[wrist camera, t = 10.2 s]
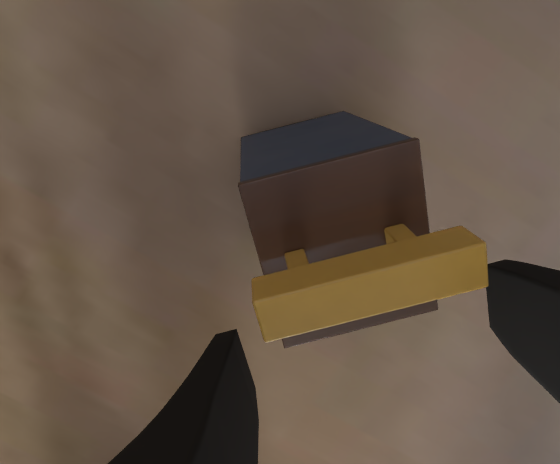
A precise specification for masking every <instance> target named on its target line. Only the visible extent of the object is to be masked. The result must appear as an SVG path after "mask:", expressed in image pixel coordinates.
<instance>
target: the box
mask: <svg viewBox="0 0 560 464" xmlns="http://www.w3.org/2000/svg"><path fill="white" fill-rule="evenodd" d="M238 187H239V190H240V194H241V197H242V201H243V204H244V208H245V211H246V215H247V219H248V222H249V226H250V229H251V233H252V236H253V240H254V243H255V247H256V250H257V254H258V257H259V261H260V264H261V268H262V271H263V276H259V277H256V278H253V279H252V303H253V306H254V309H255V313H256V316H257V319H258V323H259V326H260V329H261V332H262V336H263V339H264V341H265V342H271V341H275V340H279V339H282V341H283V345H284V348H288V347H292V346H296V345H300V344H304V343H308V342H312V341H316V340H320V339H324V338H328V337H332V336H336V335H340V334H344V333H348V332H352V331H356V330H360V329H364V328H367V327H371V326H375V325H379V324H383V323H387V322H391V321H395V320H399V319H403V318H407V317H411V316H415V315H419V314H423V313H427V312H431V311H435V310H438V304H437V299H441V298H445V297H449V296H453V295H457V294H461V293H465V292H469V291H473V290H477V289H481V288H485V287H488V285H489V283H488V265H487V248H486V243H485V242H484V241H483V240H481V239H480V238H479V237H477V236H476V235H474V234H473V233H471V232H470V231H469V230H467V229H466V228H464V227H463V226H457V227H453V228H449V229H445V230H441V231H437V232H433V233H430V232H429V224H428V215H427V206H426V197H425V188H424V179H423V170H422V161H421V152H420V143H419V139H418V138H415V137H414V138H411V137H408V136H406V135H403V134H401V133H398V132H396V131H393V130H391V129H388V128H386V127H383V126H380V125H378V124H375V123H373V122H370V121H368V120H365V119H363V118H360V117H358V116H355V115H353V114H350V113H347V112H345V111H342V112H338V113H334V114H330V115H326V116H323V117H319V118H315V119H311V120H307V121H303V122H299V123H295V124H291V125H287V126H283V127H280V128H276V129H272V130H268V131H264V132H260V133H256V134H252V135H248V136H244V137H241V171H240V182H239V183H238Z"/></svg>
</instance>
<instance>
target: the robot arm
mask: <svg viewBox="0 0 560 464" xmlns="http://www.w3.org/2000/svg"><path fill="white" fill-rule="evenodd" d="M487 265H488V283H489V285H488V287H486V291H487V301H488V312H489V322H490V328H491V329H492V330H493V332H494V333H495V334H496V336H497V337H498V339H499V340H500V341H501V343H502V344H503V345H504V346H505V348H506V349H507V350H508V351H509V353H510V354H511V355H512V356H513V357H514V358H515V359H516V360H517V361H518V362H519V363H520V364H521V365H522V366H523V367H524V368H525V369H526V370H527V371H528V372H529V373H530V374H531V375H532V376H533V377H534V378H535V379H536V380H537V381H538V382H539V383H540V384H541V385H542V386H543V387H544V388H545V389H546V390H547V391H548V392H549V393H550V394H551V395H552V396H553V397H554V398H555V399H556V400H557V401H558V402H559V403H560V271H559V270H555V269H550V268H546V267H542V266H538V265H533V264H528V263H524V262H518V261H513V260H502V261H498V262H494V263H490V264H487ZM258 430H259V419H258V408H257V398H256V389H255V385H254V382H253V379H252V376H251V372H250V369H249V366H248V363H247V360H246V357H245V354H244V351H243V348H242V345H241V342H240V338H239V335H238V332H237V329H235V330H231V331H227V332H223V333H219V334H216V335H215V336H214V338H213V339H212V340H211V342H210V344H209V345H208V347H207V348H206V350H205V351H204V353H203V354H202V356H201V357H200V359H199V360H198V362H197V363H196V365H195V366H194V368H193V369H192V371H191V372H190V374H189V375H188V377H187V378H186V379H185V381H184V382H183V383H182V385H181V386H180V387H179V388H178V390H177V391H176V392H175V394H174V395H173V396H172V398H171V399H170V400H169V401H168V403H167V404H166V405H165V406H164V408H163V409H162V410H161V411H160V412H159V413H158V415H157V416H156V417H155V418H154V419H153V420H152V421H151V422H150V423H149V424H148V425H147V427H146V428H145V429H144V430H143V431H142V432H141V433H140V434H139V435H138V436H137V437H136V438H135V439H134V440H133V441H132V442H131V443H129V444H128V445H127V446H126V447H125V448H124V449H123V450H122V451H121V452H120V453H119V454H118V455H117V456H115V457H114V458H113V459H112V460H111V461H110V462H109V463H108V464H258Z"/></svg>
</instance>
